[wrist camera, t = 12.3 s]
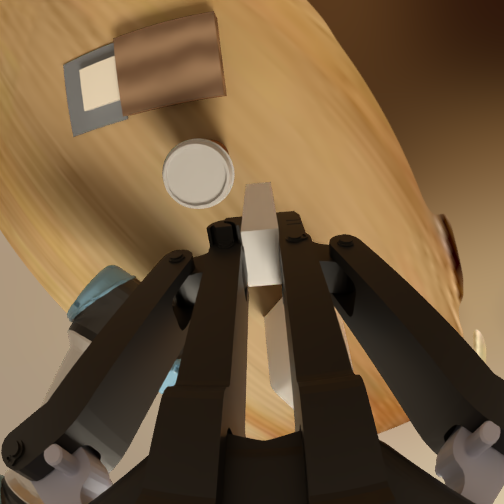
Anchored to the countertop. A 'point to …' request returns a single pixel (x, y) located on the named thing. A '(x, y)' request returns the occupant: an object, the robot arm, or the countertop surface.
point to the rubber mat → (78, 116)
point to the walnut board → (169, 64)
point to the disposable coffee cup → (198, 173)
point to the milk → (283, 351)
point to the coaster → (99, 84)
